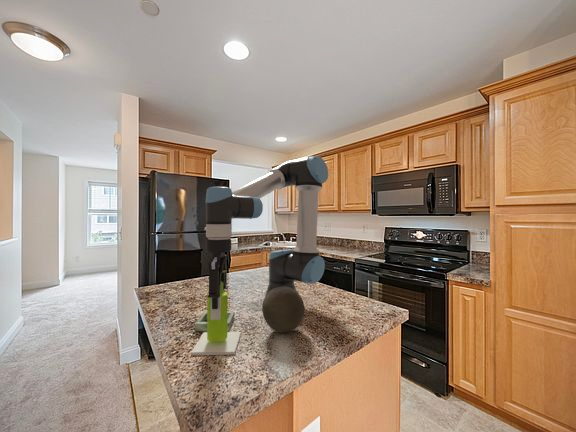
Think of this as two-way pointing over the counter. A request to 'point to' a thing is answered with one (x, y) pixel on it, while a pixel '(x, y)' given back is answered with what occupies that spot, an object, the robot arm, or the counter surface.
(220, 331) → the soap dispenser
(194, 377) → the counter surface
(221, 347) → the mat
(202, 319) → the frame
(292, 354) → the counter surface
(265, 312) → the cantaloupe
